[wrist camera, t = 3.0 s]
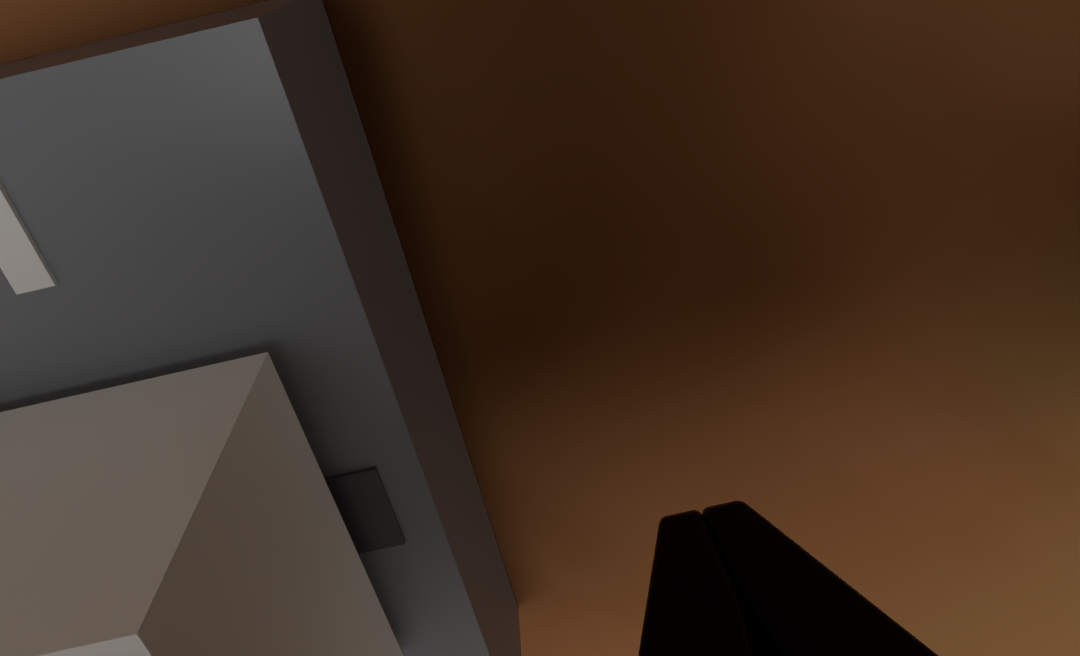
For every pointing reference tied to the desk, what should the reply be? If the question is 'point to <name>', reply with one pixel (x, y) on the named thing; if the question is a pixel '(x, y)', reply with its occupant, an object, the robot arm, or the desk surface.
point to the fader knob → (177, 526)
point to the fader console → (245, 280)
